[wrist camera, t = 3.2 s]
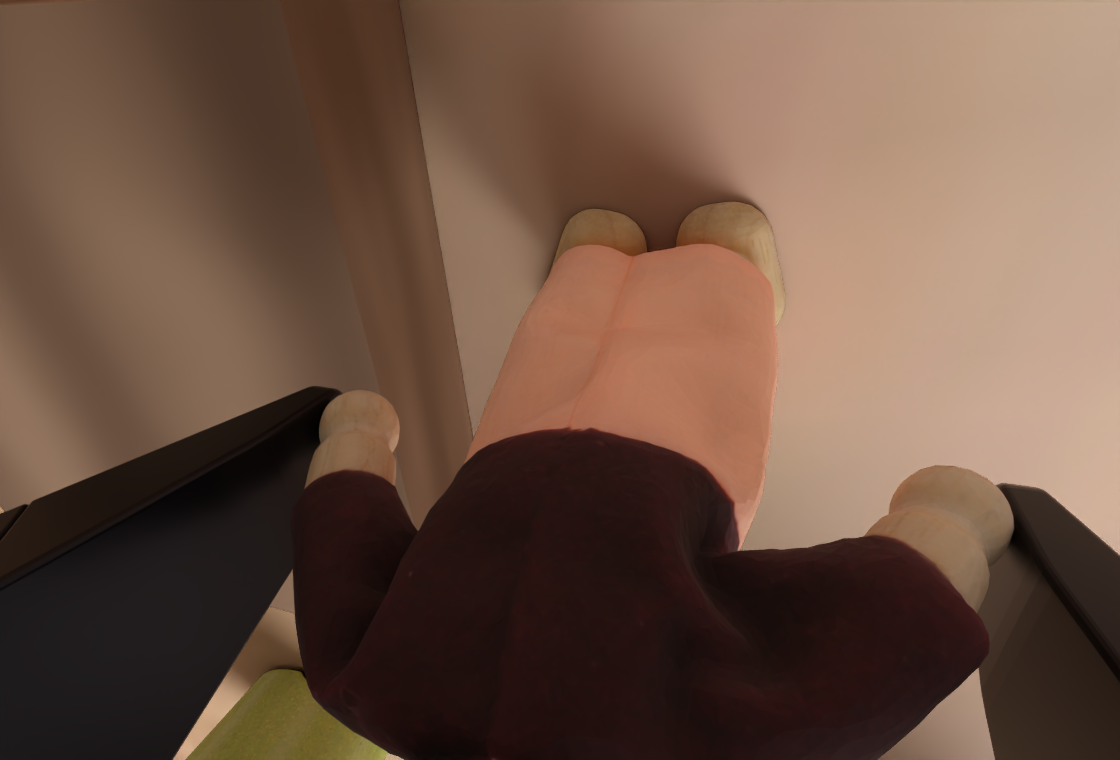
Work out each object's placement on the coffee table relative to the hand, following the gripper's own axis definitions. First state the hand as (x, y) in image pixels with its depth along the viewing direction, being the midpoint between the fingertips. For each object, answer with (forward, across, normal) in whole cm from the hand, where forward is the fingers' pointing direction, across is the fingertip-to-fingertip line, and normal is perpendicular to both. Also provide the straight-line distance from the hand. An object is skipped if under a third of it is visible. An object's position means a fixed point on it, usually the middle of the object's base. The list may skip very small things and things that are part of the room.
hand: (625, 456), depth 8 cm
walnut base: (+5, +12, +2) cm, 13 cm away
